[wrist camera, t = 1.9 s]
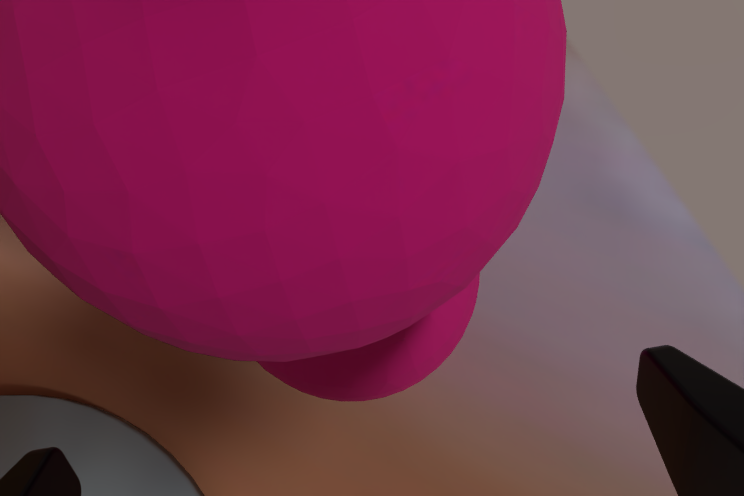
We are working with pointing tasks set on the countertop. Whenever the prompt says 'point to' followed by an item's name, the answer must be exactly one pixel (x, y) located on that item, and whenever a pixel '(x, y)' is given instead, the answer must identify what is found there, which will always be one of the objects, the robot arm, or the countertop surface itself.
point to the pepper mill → (279, 169)
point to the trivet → (91, 447)
